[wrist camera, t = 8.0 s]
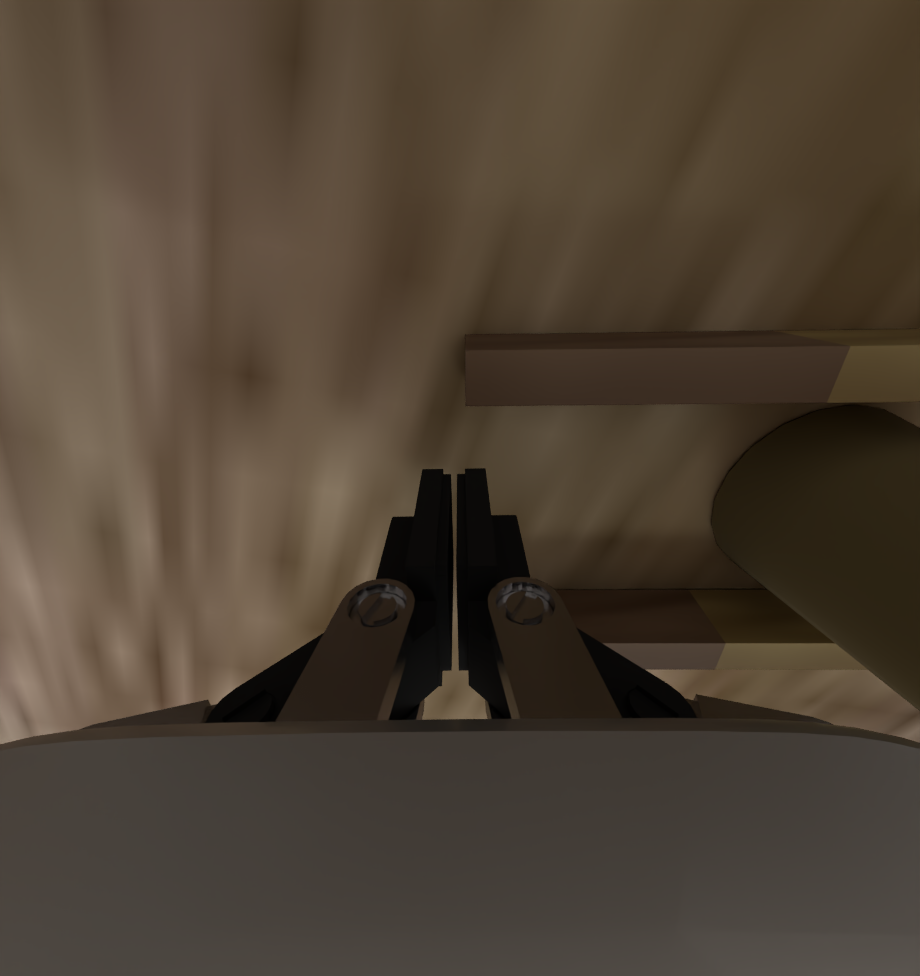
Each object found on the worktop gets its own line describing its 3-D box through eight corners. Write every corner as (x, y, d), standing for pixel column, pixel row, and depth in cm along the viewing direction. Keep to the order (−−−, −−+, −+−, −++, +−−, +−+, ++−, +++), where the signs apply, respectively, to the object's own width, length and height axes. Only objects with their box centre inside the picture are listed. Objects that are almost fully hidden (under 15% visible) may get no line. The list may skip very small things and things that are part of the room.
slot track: (465, 334, 11) (465, 351, 9) (1464, 321, 10) (1722, 335, 8) (467, 614, 15) (467, 669, 13) (1151, 613, 15) (1264, 670, 13)
